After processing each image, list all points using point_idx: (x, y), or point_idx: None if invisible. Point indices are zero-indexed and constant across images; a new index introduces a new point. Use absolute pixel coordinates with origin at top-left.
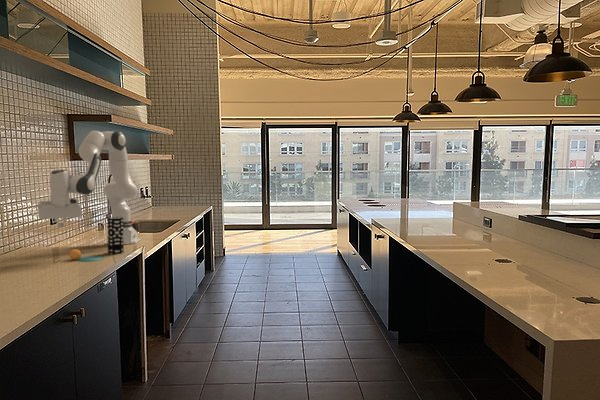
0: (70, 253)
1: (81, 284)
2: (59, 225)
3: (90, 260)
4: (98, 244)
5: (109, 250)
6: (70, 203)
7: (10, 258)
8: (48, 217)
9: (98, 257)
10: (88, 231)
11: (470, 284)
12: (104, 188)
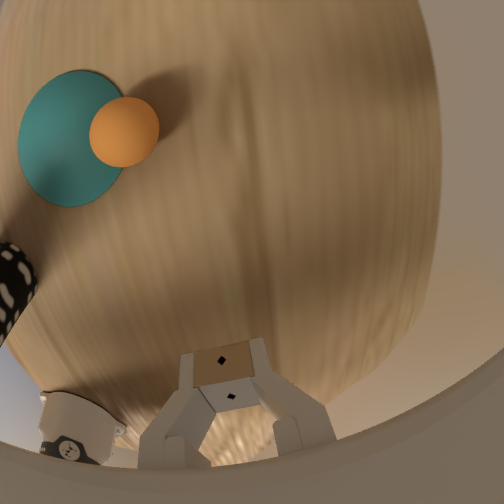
0: (146, 109)
1: None
2: (245, 351)
3: (59, 88)
4: (141, 417)
5: (14, 261)
6: None
7: (422, 254)
8: (477, 395)
9: (35, 164)
10: None
11: None
12: None
